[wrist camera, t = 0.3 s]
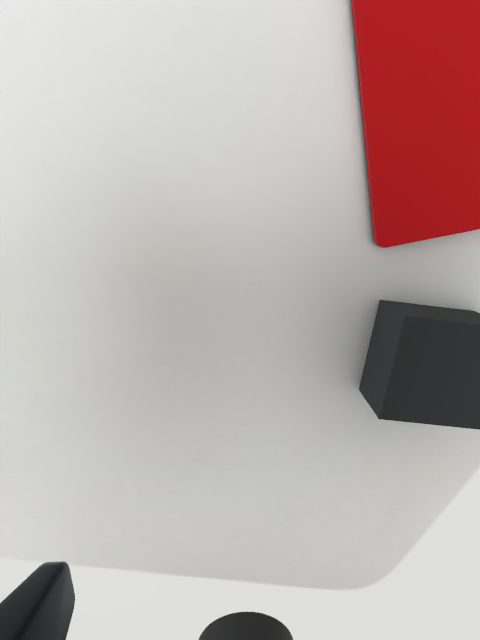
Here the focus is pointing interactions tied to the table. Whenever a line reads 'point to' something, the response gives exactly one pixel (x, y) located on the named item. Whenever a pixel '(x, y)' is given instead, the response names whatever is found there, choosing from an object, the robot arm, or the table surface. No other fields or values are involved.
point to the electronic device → (420, 115)
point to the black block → (424, 365)
